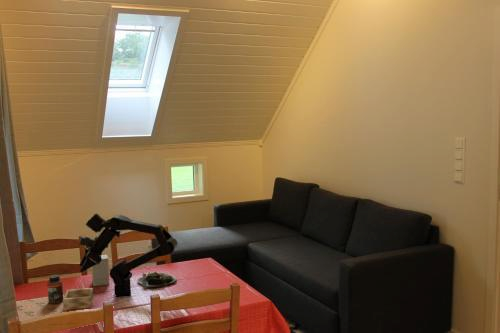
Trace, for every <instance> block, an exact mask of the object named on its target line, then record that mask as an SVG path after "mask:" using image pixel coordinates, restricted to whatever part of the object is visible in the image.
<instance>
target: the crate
mask: <svg viewBox="0 0 500 333" xmlns="http://www.w3.org/2000/svg"><path fill="white" fill-rule="evenodd" d="M93 300H94V287H89V288H87V287H86V288H77V289H76V288H75V289H74V288H73V289H66V292H65V294H64V296H63V301H62V302H63V310H64V311H68V310H77V309H87V308H88V309H89V308H92V306H93V305H92V304H93Z"/></svg>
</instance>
